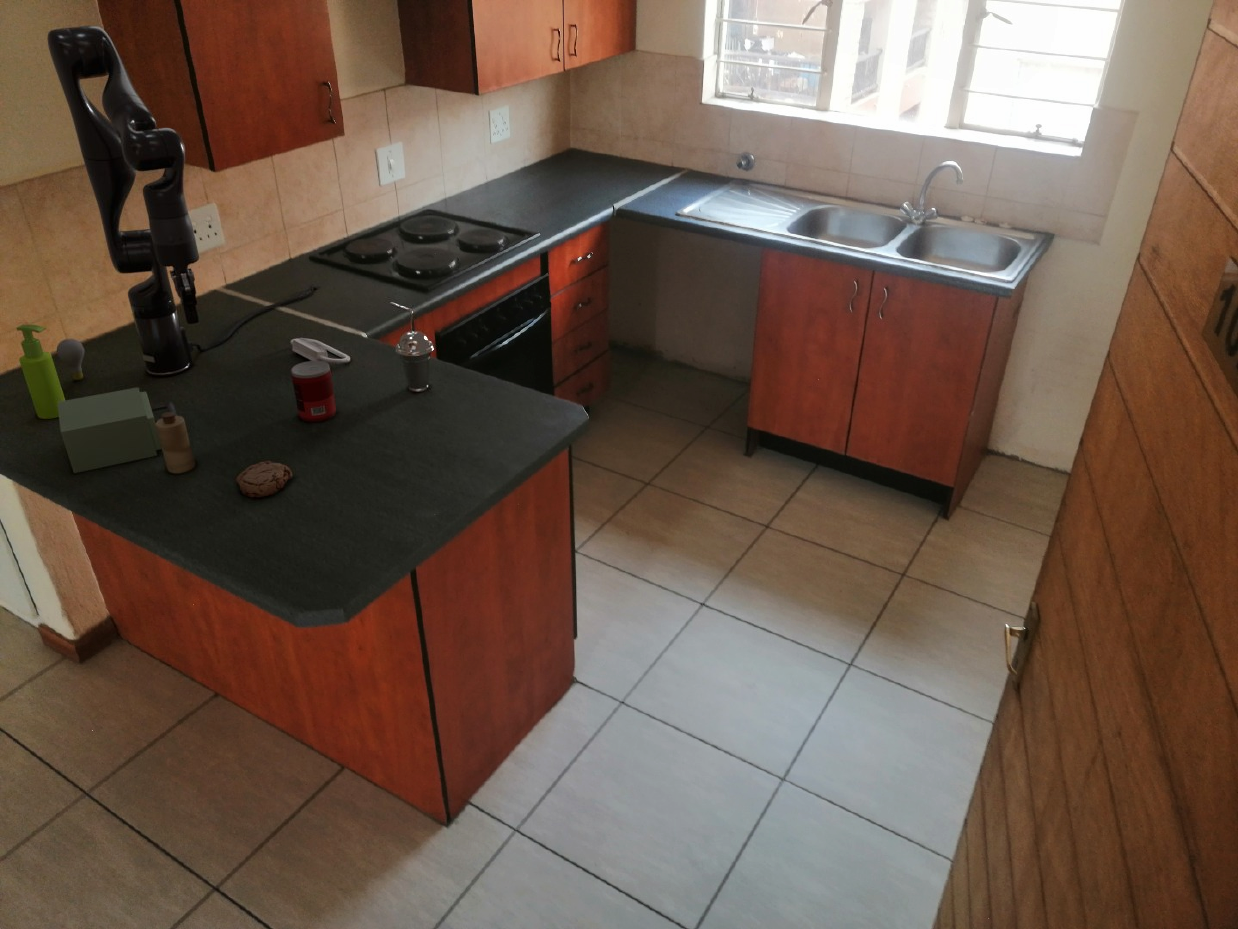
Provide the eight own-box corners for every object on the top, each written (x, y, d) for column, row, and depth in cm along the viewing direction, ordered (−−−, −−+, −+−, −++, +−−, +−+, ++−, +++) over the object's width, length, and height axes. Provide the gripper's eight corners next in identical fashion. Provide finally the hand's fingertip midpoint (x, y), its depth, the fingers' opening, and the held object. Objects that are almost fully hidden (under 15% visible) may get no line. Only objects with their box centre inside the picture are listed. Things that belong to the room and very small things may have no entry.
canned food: (344, 410, 205) (337, 364, 200) (319, 425, 199) (311, 378, 193) (316, 403, 208) (308, 357, 202) (291, 418, 201) (282, 371, 196)
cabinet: (148, 425, 198) (138, 387, 193) (157, 455, 187) (146, 415, 182) (69, 441, 191) (57, 401, 187) (74, 473, 180) (60, 432, 176)
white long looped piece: (355, 368, 228) (357, 353, 227) (326, 370, 222) (327, 354, 221) (312, 346, 240) (313, 331, 239) (282, 347, 234) (283, 332, 233)
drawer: (175, 417, 199) (168, 387, 196) (185, 444, 189) (177, 412, 185) (81, 436, 191) (72, 404, 188) (86, 465, 181) (76, 432, 178)
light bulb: (97, 376, 219) (86, 336, 214) (79, 386, 214) (66, 345, 209) (79, 373, 220) (67, 333, 215) (60, 382, 216) (47, 342, 211)
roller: (184, 458, 186) (171, 406, 180) (200, 465, 183) (187, 412, 178) (161, 469, 182) (147, 416, 176) (178, 476, 180) (164, 422, 174)
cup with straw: (412, 399, 210) (402, 314, 200) (391, 386, 216) (381, 303, 206) (444, 389, 215) (437, 306, 205) (423, 376, 221) (415, 295, 211)
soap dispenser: (59, 420, 199) (31, 332, 189) (31, 417, 200) (1, 329, 191) (78, 408, 204) (52, 322, 194) (50, 405, 205) (23, 319, 196)
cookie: (240, 502, 172) (237, 488, 170) (236, 475, 180) (233, 462, 179) (296, 492, 175) (294, 478, 174) (290, 466, 184) (287, 452, 182)
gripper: (199, 244, 177) (218, 330, 186) (189, 226, 187) (207, 308, 195) (156, 249, 174) (177, 336, 182) (148, 231, 183) (168, 315, 192)
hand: (192, 322), depth 189 cm, fingers closed
